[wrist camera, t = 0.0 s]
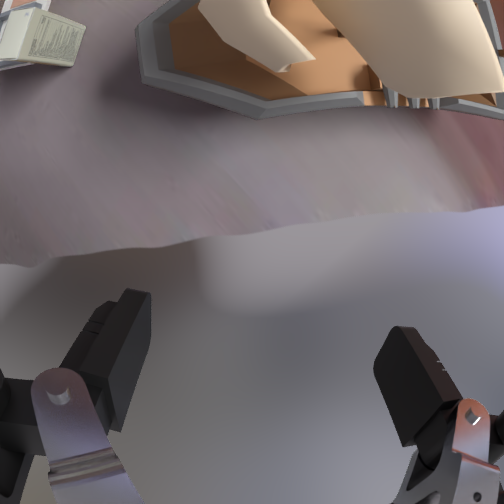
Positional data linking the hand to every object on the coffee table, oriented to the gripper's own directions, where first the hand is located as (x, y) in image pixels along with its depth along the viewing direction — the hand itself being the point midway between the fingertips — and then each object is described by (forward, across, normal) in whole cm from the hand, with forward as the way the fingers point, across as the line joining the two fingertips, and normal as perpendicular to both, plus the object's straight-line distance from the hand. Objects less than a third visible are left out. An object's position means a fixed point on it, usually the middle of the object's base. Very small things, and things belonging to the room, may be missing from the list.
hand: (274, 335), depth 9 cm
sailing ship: (+30, -9, -18) cm, 36 cm away
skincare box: (+30, +28, -15) cm, 43 cm away
